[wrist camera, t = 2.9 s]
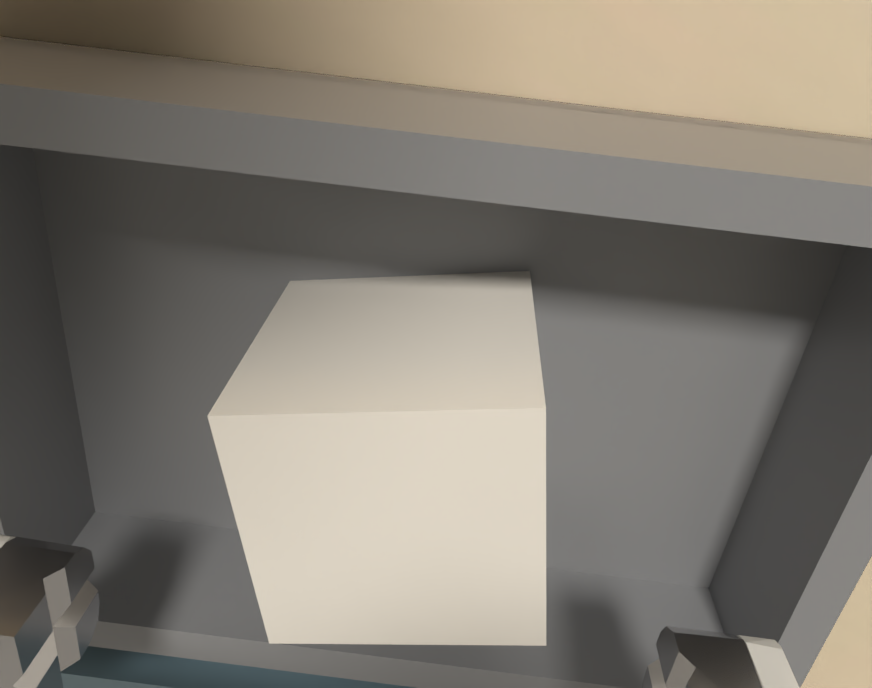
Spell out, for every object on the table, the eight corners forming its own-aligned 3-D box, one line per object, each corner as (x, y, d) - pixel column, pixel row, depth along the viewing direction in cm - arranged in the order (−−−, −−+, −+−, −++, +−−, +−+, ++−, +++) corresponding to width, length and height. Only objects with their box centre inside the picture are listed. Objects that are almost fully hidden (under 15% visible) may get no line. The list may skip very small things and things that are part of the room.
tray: (-11, 35, 12) (-177, 62, 9) (917, 143, 12) (1060, 208, 9) (79, 515, 18) (-8, 633, 15) (725, 596, 17) (775, 732, 14)
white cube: (290, 281, 14) (207, 415, 10) (529, 270, 13) (546, 408, 9) (324, 469, 16) (269, 643, 12) (532, 466, 15) (546, 645, 11)
